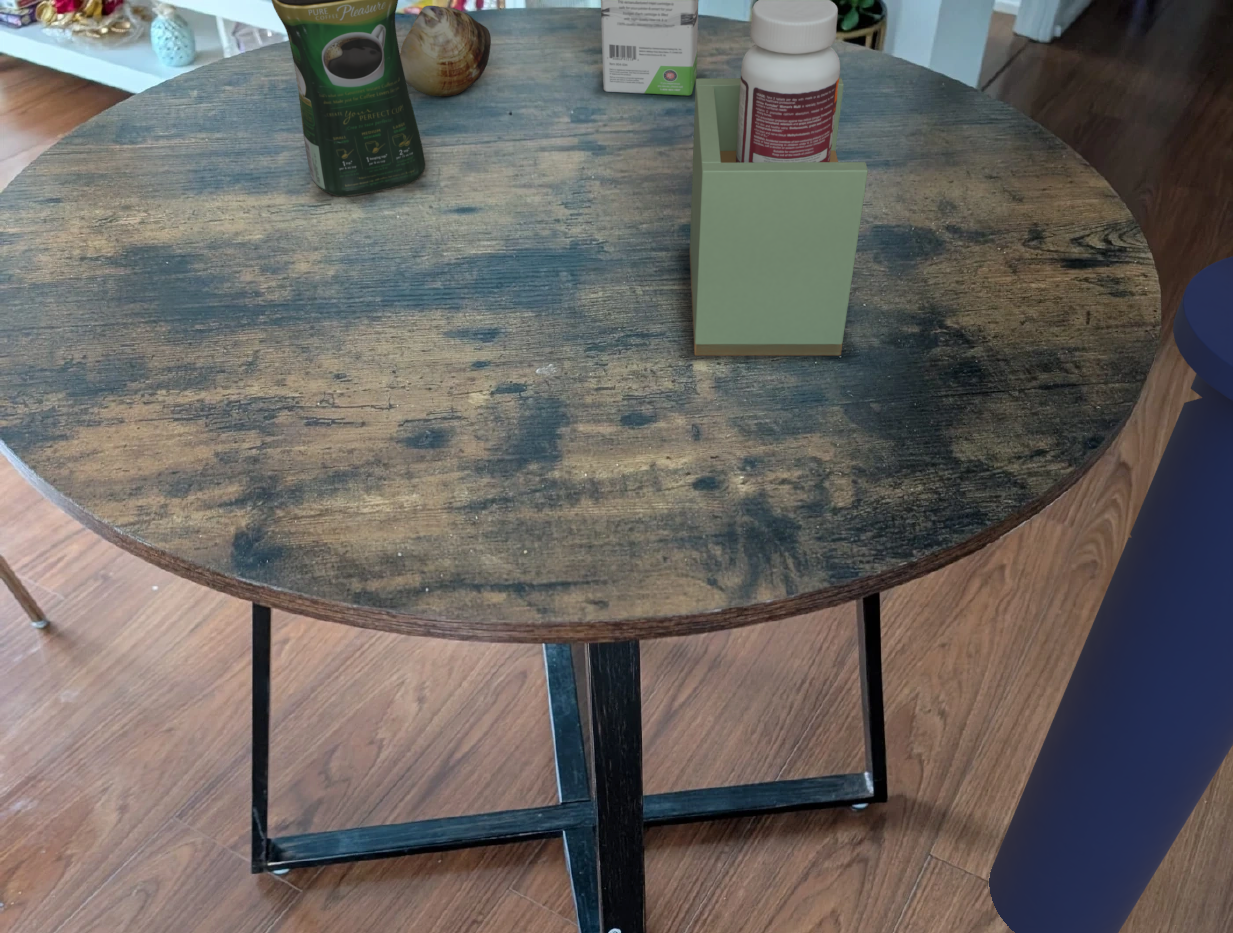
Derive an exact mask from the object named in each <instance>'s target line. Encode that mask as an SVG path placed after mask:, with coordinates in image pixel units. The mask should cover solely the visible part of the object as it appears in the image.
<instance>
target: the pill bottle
mask: <svg viewBox="0 0 1233 933" xmlns="http://www.w3.org/2000/svg"><path fill="white" fill-rule="evenodd" d="M838 13H839V8H838V6H837V5H836V3H835V2H833V1H832V0H757V1H756V2H755V3H754V4H753V6H752V11H751V23H750V24H751V25H750V29H749V30H750V31H749V38H750V40H751V42H752V43H753V45H752V46H751V47H750V48H748V50H747V51H746V52H745V54H744V56H743V57H742V61H741V67H740V78H741V80H740V97H739V114H738V131H737V150H736V163H766V162H830V156H831V147H832V138H833V129H834V121H835V113H836V104H837V94H838V86H839V78H840V74H841V61H840V58H839V55H838V54H837V52H836V51H835V49H834V48H832V45H833V44H834V43H835V42H836V38H837V24H838V15H839V14H838Z"/></svg>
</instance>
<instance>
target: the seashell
mask: <svg viewBox="0 0 1233 933" xmlns="http://www.w3.org/2000/svg"><path fill="white" fill-rule="evenodd" d="M491 38H492V37H491V33H490V31H489V29H488V28H487V26H485V25H483V24H482V23H481V22H479V21H477V20H476V19H475V18H474V17H473V16H471V15H470V14H469V13H467V12H464V11H462V10H460V9H458V8H455V7H446V6H438V5H424V6H423V7H422V8H421V10H420V11H419V12H418V14H417V17H416V18H415V20H414V22H413V24H412V26H411V28H410V29H409V32H408V34H407V35H406V36H405V38H404V41H403V42H402V45H401V47H400V57H401V62H402V67H403V71H404V75H405V80H406V84H407V86H409V87H411V88H413V89H414V90H415V91H417V92H420V93H421V94H424V95H427V96H431V97H432V96H433V97H451V96H455V95H456V96H457V95H458V94H461V93H462V92H465V91H466V90H467V89H468V88H469V87H471V86H472V85H474V84H475V83H476V82H477V81H478V80H479V79H480V78H481V76H482V75H483V73H484V71H485V69H486V67H487V66H488V61H489V60H490V59H489V58H490V53H491V44H492V39H491Z"/></svg>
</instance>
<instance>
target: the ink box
mask: <svg viewBox="0 0 1233 933" xmlns="http://www.w3.org/2000/svg"><path fill="white" fill-rule="evenodd" d="M600 16H601V18H600V19H601V21H600V22H601V23H600V24H601V52H602V53H601V54H602V57H601V58H602V83H603V84H602V85H603V90H604V92H607V93H625V94H627V93H628V94H646V95H647V94H648V95H649V94H650V95H664V96H665V95H667V96H668V95H669V96H692V94H693V91H694V88H695V85H696V79H697V75H698V39H699V38H698V36H699V35H698V34H699V32H698V30H699V0H600Z"/></svg>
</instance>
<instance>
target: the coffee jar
mask: <svg viewBox="0 0 1233 933" xmlns="http://www.w3.org/2000/svg"><path fill="white" fill-rule="evenodd" d="M271 3H272V6H273V9H274V11H275V13H276V15H277V17H278V18H279V20H280V22H281V23H282V25H283V27H284V29H285V32H286V34H287V37H288V41H289V42H288V43H289V48H290V51H291V56H292V60H293V64H294V65H293V66H294V72H295V78H296V84H297V92H298V101H299V108H300V115H301V124H302V125H301V126H302V134H303V141H304V142H303V143H304V150H305V155H306V159H307V160H306V161H307V165H308V169H309V175H310V176H311V179H312V181H313V182H314V184H315V186H316V187H317V188H318V189H320V190H321V191H323V192H325V193H327V194H330V195H332V196H336V197H350V196H357V195H364V194H371V193H374V192H375V193H376V192H379V191H384V190H389V189H393V188H398V187H403V186H406V185H408V184H412V183H414V182H415V181H417V180H418V179H419V178H420V177H421V176H422V174H424V171H425V168H426V160H425V154H424V149H423V143H422V139H421V135H420V131H419V127H418V122H417V118H416V115H415V112H414V108H413V104H412V100H411V95H410V92H409V88H408V84H407V83H406V80H405V75H404V71H403V67H402V62H401V57H400V53H401V51H400V47H399V44H398V42H399V41H398V35H397V34H398V33H397V26H396V13H397V8H398V4H399V0H271Z"/></svg>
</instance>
